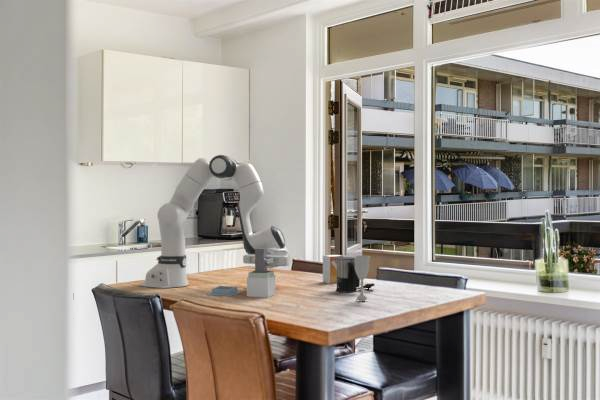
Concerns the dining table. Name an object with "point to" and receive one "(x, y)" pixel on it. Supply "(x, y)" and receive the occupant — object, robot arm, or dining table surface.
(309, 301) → the dining table surface
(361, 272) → the chalice
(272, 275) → the block
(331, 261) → the small box
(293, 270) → the dining table surface
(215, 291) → the floor socket
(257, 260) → the plug block
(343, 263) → the milk frother
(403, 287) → the dining table surface
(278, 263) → the robot arm
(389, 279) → the dining table surface
